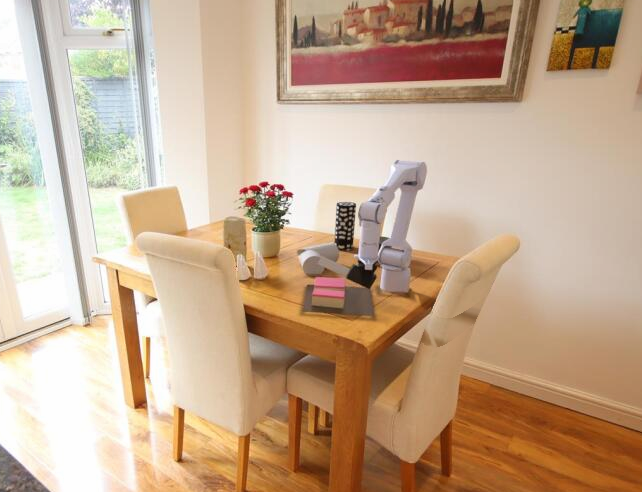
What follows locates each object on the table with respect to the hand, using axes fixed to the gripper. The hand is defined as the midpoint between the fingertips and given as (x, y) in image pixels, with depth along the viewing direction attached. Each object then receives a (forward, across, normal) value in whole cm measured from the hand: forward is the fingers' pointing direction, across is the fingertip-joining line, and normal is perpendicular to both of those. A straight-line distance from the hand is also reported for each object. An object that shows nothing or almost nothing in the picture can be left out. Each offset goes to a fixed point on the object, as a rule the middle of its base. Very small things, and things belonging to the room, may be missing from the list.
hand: (365, 283), depth 144 cm
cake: (+8, -10, -11) cm, 17 cm away
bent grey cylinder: (+9, -38, -16) cm, 43 cm away
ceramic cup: (+9, -48, +7) cm, 50 cm away
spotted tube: (+9, -66, -6) cm, 67 cm away
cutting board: (+9, -6, -8) cm, 13 cm away
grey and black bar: (-2, 0, -7) cm, 7 cm away
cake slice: (+8, -1, -11) cm, 14 cm away
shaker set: (+9, -22, -40) cm, 47 cm away
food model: (+9, -37, -50) cm, 63 cm away
